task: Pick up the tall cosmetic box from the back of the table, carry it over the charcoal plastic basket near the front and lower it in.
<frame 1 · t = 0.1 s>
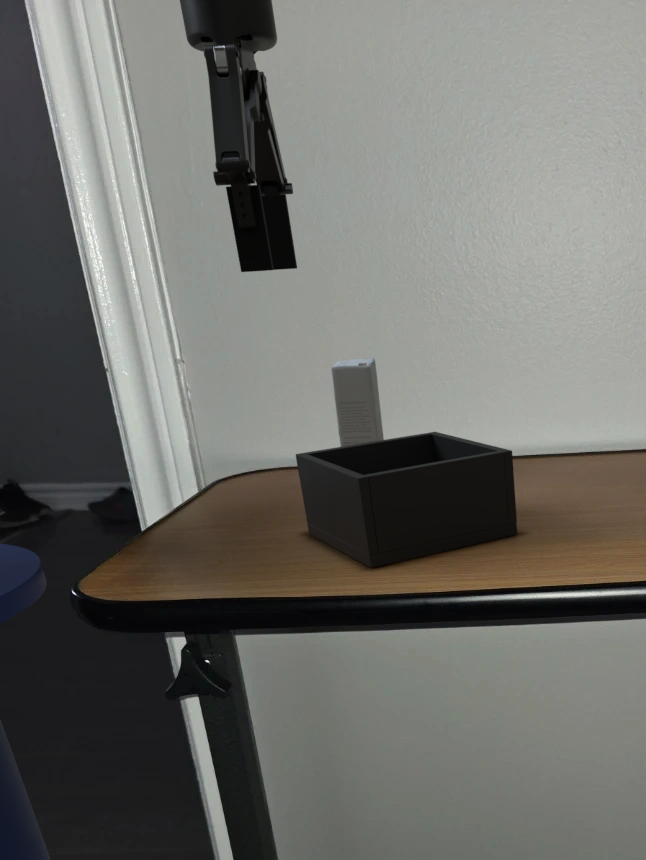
hand: (271, 270, 87), 21 cm above the table, tool pointing down, fingers open, 13 cm apart
basket: (410, 534, 81), on the table
cosmetic box: (368, 479, 103), on the table
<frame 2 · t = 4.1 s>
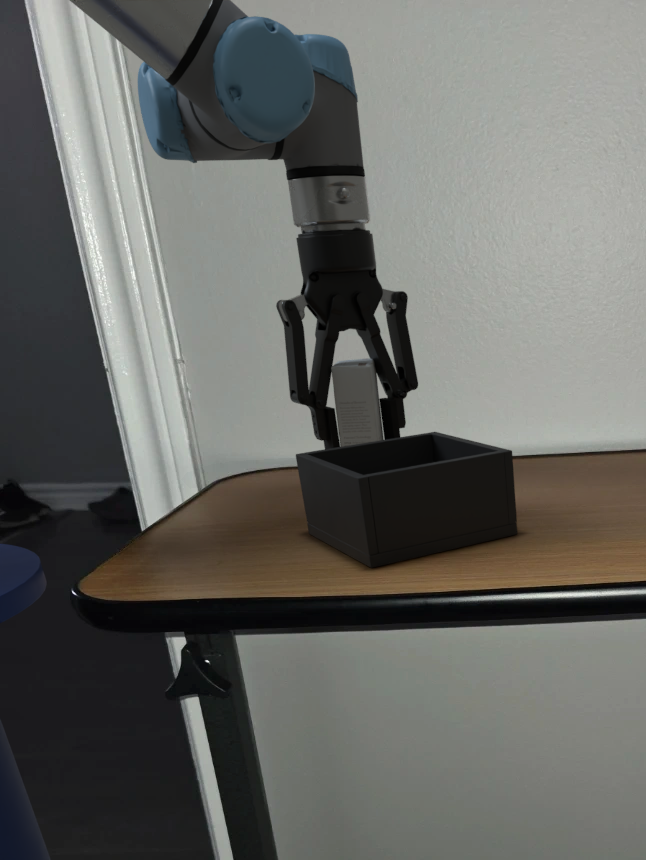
hand: (365, 464, 102), 1 cm above the table, tool pointing down, fingers closed on cosmetic box, 6 cm apart
cosmetic box: (368, 479, 103), on the table, touching gripper
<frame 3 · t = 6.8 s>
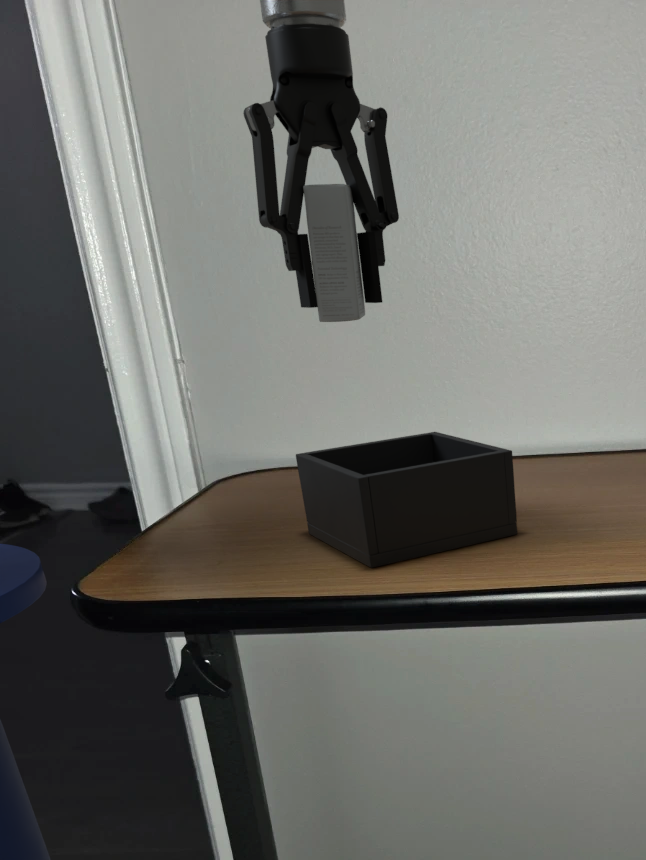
hand: (342, 304, 95), 18 cm above the table, tool pointing down, fingers closed on cosmetic box, 6 cm apart
cosmetic box: (344, 322, 96), point 16 cm above the table, touching gripper
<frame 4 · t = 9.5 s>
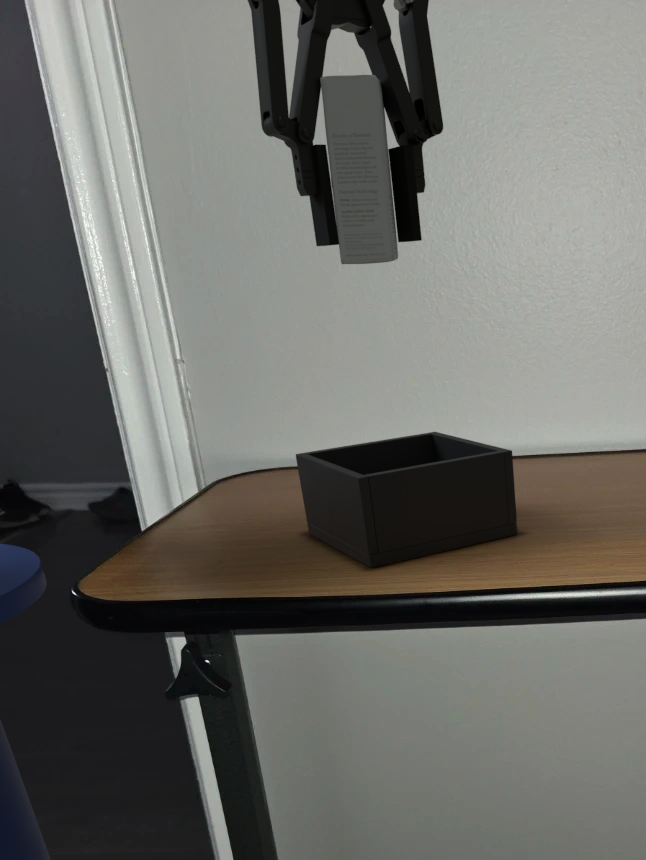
hand: (369, 242, 73), 23 cm above the table, tool pointing down, fingers closed on cosmetic box, 6 cm apart
cosmetic box: (373, 266, 74), point 21 cm above the table, touching gripper
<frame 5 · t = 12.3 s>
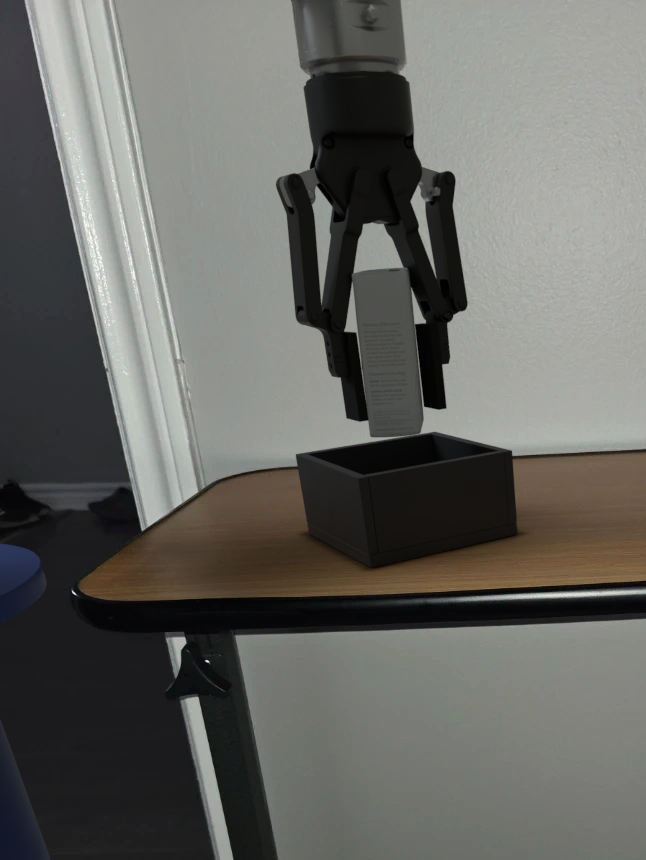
hand: (397, 412, 76), 10 cm above the table, tool pointing down, fingers closed on cosmetic box, 6 cm apart
cosmetic box: (400, 433, 77), point 9 cm above the table, touching gripper
when the fingers open (3 cm above the table, at t = 15.0 s): cosmetic box stays where it is, resting on basket.
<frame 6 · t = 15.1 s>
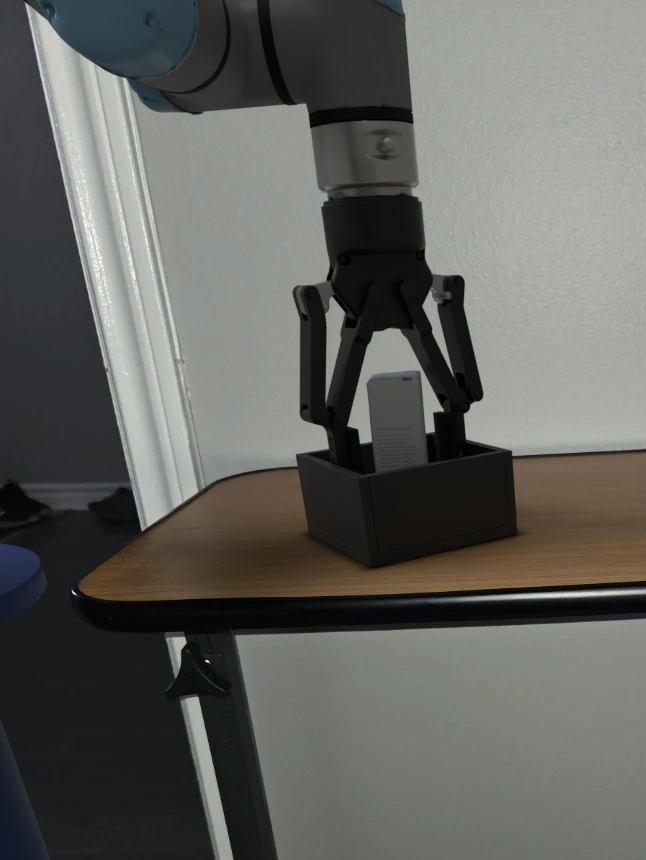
hand: (406, 498, 79), 3 cm above the table, tool pointing down, fingers open, 8 cm apart
cosmetic box: (409, 525, 80), point 1 cm above the table, touching basket
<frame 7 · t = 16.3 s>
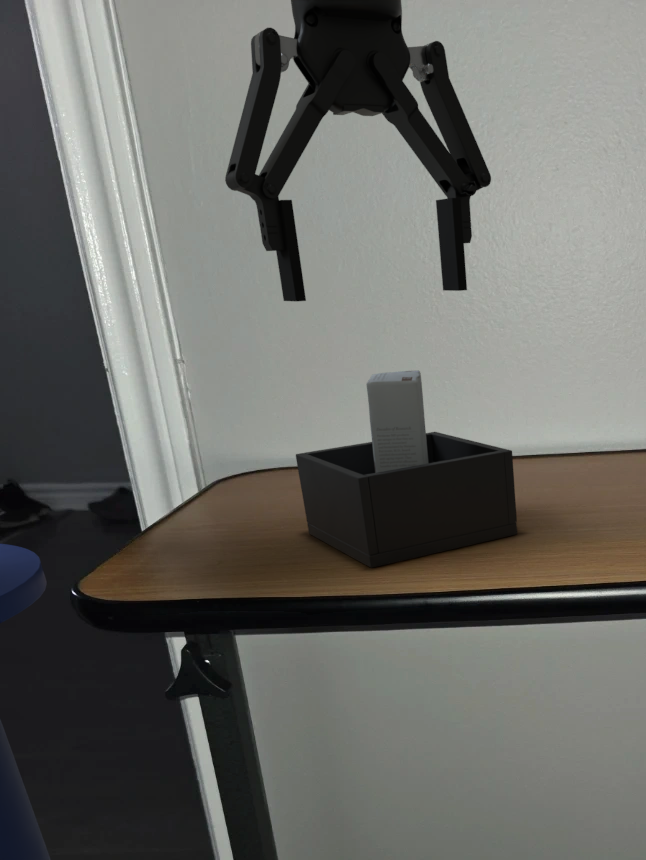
hand: (378, 296, 72), 19 cm above the table, tool pointing down, fingers open, 13 cm apart
nothing on the table moved.
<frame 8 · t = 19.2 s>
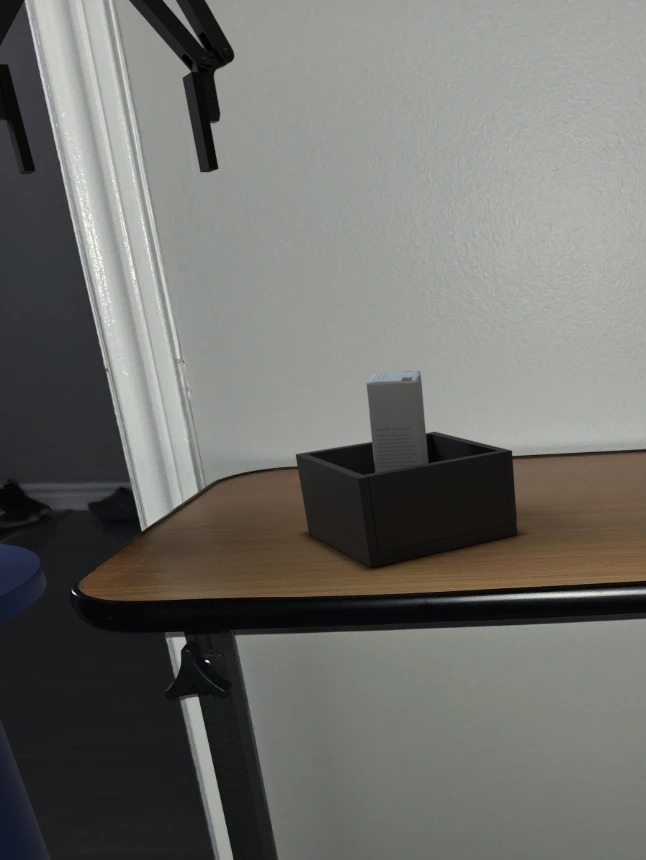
hand: (122, 172, 73), 29 cm above the table, tool pointing down, fingers open, 13 cm apart
nothing on the table moved.
at the end: cosmetic box inside the target area in the basket (0.0 cm from its centre), point 0.8 cm above the basket's base; the gripper is holding nothing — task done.
